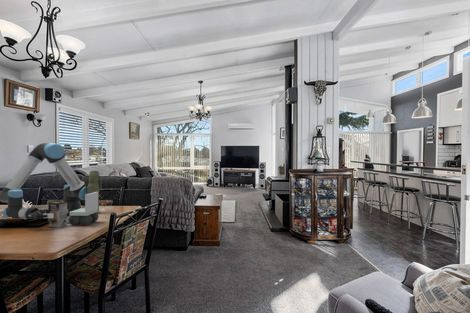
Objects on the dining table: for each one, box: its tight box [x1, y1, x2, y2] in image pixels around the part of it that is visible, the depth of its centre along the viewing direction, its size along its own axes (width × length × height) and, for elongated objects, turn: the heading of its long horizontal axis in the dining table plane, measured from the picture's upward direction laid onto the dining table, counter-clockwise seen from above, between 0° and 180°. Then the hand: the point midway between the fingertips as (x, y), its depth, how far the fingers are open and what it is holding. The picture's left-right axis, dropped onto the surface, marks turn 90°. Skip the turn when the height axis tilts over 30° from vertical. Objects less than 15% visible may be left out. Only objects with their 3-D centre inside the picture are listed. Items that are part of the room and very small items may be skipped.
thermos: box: [85, 170, 103, 214], centre depth 203 cm, size 9×12×35 cm
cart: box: [68, 192, 99, 226], centre depth 172 cm, size 13×14×21 cm
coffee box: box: [47, 200, 68, 229], centre depth 165 cm, size 9×6×16 cm
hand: (60, 213), depth 165 cm, fingers open, 13 cm apart
